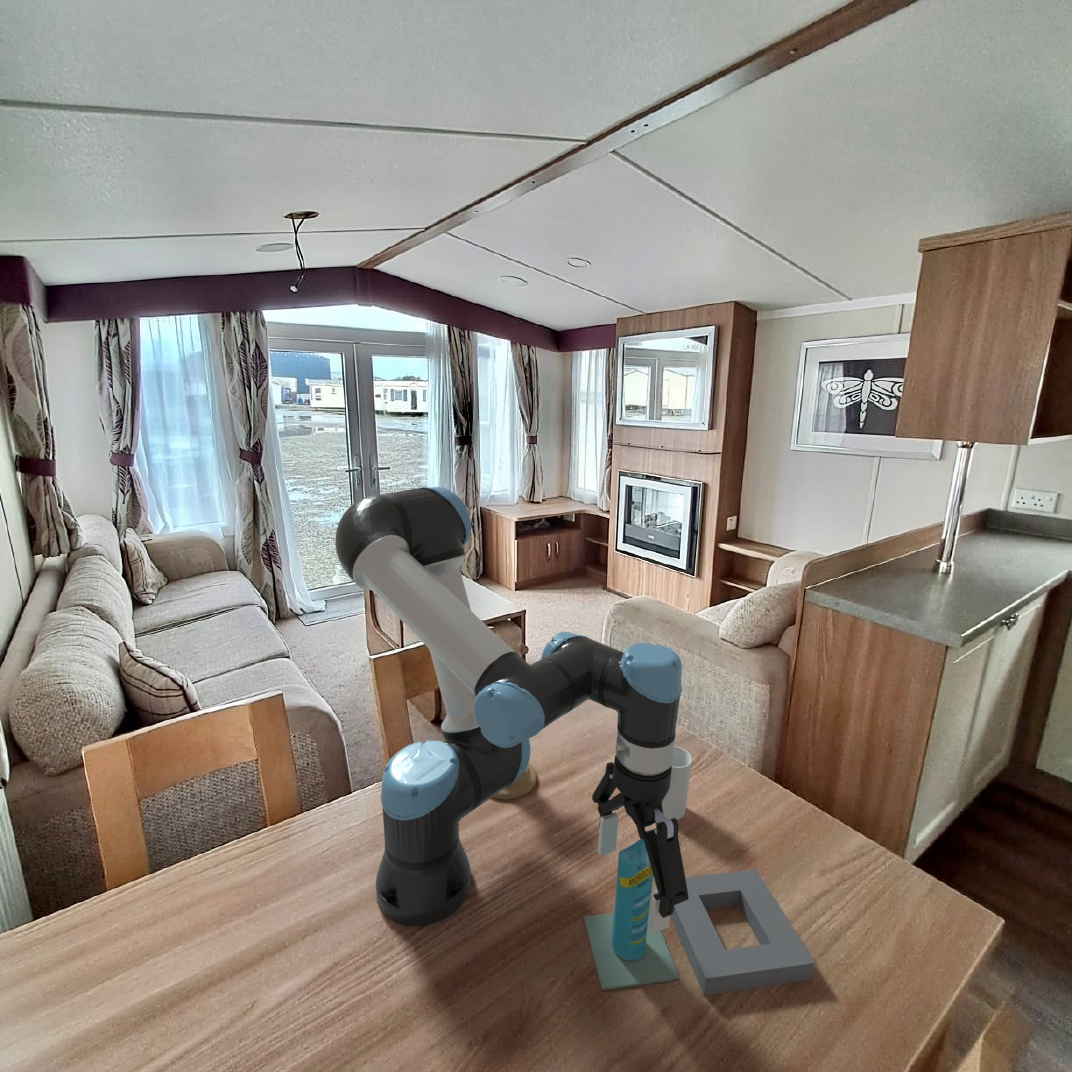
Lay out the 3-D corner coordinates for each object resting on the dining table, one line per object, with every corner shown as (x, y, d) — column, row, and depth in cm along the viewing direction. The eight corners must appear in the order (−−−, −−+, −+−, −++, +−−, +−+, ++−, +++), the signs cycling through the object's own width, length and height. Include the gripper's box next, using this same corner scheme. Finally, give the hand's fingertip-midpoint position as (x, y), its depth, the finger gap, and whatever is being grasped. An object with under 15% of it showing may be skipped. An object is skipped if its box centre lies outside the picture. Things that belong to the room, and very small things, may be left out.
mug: (693, 817, 110) (699, 763, 107) (663, 826, 108) (668, 770, 105) (664, 784, 119) (669, 733, 116) (636, 791, 117) (640, 739, 114)
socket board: (703, 995, 78) (705, 978, 77) (661, 894, 93) (662, 879, 93) (811, 979, 81) (815, 962, 80) (753, 884, 96) (755, 869, 95)
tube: (624, 974, 80) (634, 862, 75) (598, 948, 84) (607, 840, 79) (657, 941, 85) (669, 834, 80) (632, 918, 89) (641, 814, 83)
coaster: (602, 990, 79) (602, 988, 78) (583, 918, 89) (583, 916, 89) (678, 979, 80) (679, 977, 80) (651, 910, 91) (652, 908, 91)
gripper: (574, 714, 86) (568, 832, 92) (678, 834, 64) (660, 979, 70) (618, 704, 89) (608, 819, 95) (731, 816, 67) (710, 956, 73)
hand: (630, 887), depth 82 cm, fingers open, 13 cm apart
